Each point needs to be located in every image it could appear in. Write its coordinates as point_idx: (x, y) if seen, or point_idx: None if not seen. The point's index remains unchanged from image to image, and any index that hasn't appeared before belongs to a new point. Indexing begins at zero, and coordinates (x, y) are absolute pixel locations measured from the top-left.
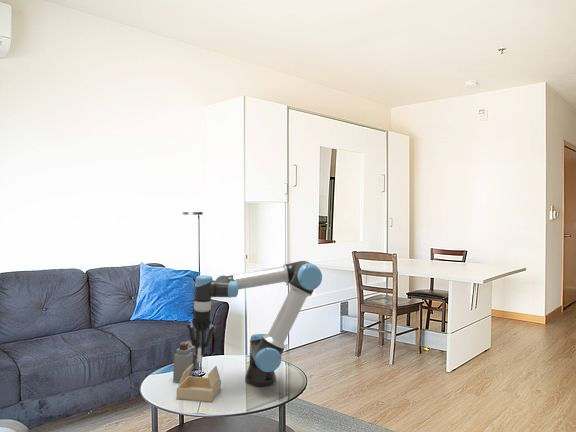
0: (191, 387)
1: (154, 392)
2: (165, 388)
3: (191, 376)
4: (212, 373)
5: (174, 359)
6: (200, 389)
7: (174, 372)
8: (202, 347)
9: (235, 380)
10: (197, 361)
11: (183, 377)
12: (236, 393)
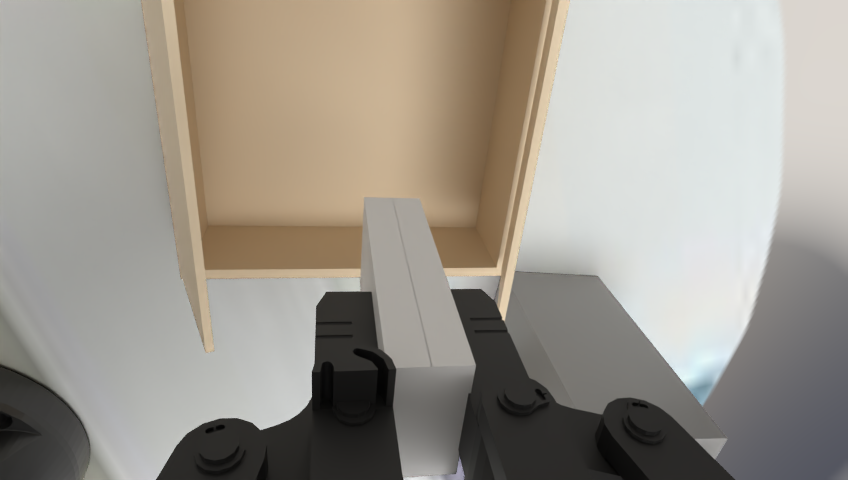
0: (447, 207)
1: (716, 74)
2: (639, 166)
3: (475, 275)
4: (175, 147)
5: (692, 401)
6: (364, 183)
7: (626, 321)
8: (336, 368)
9: (159, 408)
10: (417, 206)
11: (540, 77)
12: (22, 181)
